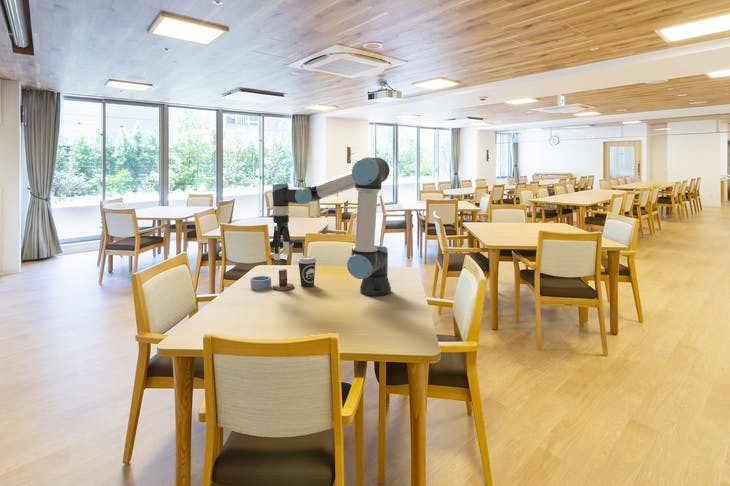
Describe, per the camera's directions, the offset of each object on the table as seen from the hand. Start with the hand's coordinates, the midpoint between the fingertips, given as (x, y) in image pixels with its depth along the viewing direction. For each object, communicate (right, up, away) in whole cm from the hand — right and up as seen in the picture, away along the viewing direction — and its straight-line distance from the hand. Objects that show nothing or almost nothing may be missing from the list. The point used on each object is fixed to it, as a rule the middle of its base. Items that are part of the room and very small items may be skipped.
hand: (281, 257), depth 234 cm
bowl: (-11, -16, +4) cm, 20 cm away
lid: (0, -16, +3) cm, 16 cm away
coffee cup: (+12, -15, +7) cm, 21 cm away
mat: (0, -16, +3) cm, 16 cm away
